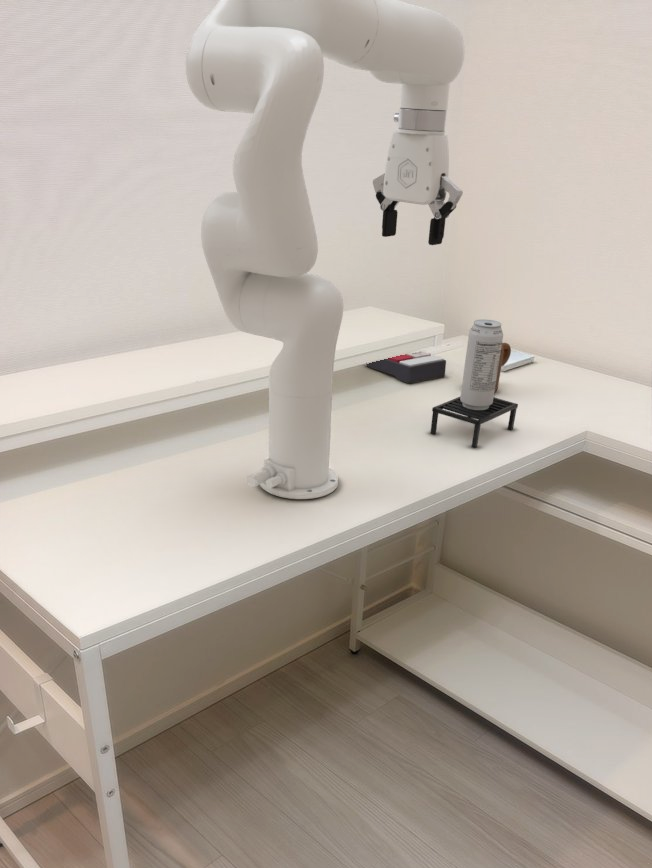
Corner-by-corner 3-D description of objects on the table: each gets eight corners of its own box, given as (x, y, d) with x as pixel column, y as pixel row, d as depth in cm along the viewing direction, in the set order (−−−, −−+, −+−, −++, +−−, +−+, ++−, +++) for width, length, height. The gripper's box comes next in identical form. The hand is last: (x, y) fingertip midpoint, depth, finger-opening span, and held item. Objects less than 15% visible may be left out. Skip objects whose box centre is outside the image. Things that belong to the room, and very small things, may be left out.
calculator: (402, 343, 187) (447, 356, 177) (401, 362, 190) (445, 376, 179) (366, 349, 182) (410, 363, 171) (365, 368, 184) (408, 383, 174)
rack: (475, 448, 144) (479, 421, 142) (429, 433, 149) (432, 407, 147) (513, 429, 154) (518, 403, 151) (469, 415, 159) (473, 391, 156)
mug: (491, 378, 180) (497, 336, 175) (517, 388, 175) (525, 344, 170) (454, 387, 173) (460, 343, 168) (481, 397, 168) (488, 352, 163)
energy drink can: (486, 400, 152) (499, 318, 144) (495, 411, 147) (509, 327, 139) (455, 400, 151) (466, 318, 143) (463, 411, 146) (475, 326, 138)
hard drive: (506, 348, 196) (476, 356, 189) (534, 355, 192) (505, 364, 184) (505, 355, 197) (475, 363, 190) (533, 362, 193) (504, 371, 185)
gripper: (364, 119, 129) (358, 234, 138) (454, 127, 120) (441, 250, 129) (392, 119, 134) (384, 231, 143) (481, 127, 125) (466, 245, 134)
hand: (411, 240), depth 136 cm, fingers open, 9 cm apart
